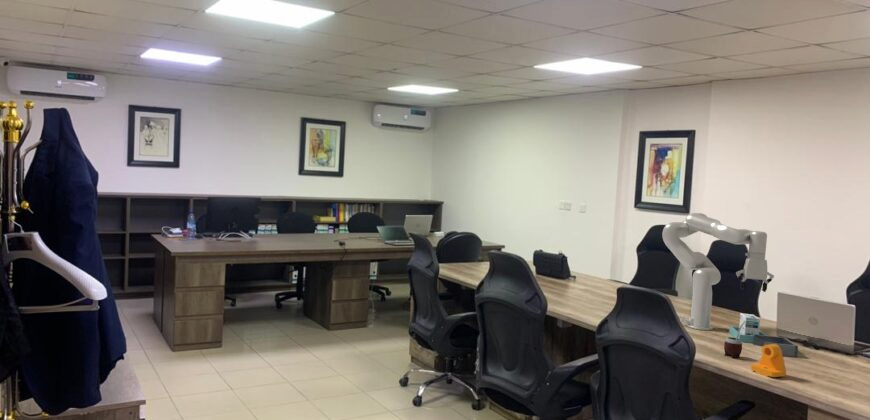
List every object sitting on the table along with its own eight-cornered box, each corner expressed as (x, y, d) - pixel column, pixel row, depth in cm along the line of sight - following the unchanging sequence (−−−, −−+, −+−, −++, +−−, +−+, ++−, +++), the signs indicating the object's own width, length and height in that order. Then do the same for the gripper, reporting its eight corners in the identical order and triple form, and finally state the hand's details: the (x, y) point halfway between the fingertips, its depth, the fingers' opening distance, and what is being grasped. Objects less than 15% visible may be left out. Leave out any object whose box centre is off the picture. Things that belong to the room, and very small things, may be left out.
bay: (764, 353, 284) (765, 342, 283) (752, 344, 300) (753, 334, 299) (797, 357, 281) (798, 346, 281) (783, 347, 297) (784, 337, 297)
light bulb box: (758, 340, 305) (760, 318, 305) (743, 338, 307) (745, 317, 306) (752, 335, 316) (754, 314, 315) (737, 333, 317) (739, 312, 316)
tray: (739, 341, 304) (739, 334, 303) (728, 332, 321) (729, 326, 321) (770, 344, 301) (770, 337, 301) (758, 336, 319) (758, 329, 318)
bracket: (749, 370, 255) (752, 341, 254) (761, 369, 258) (764, 340, 257) (773, 379, 245) (776, 349, 244) (785, 377, 248) (788, 348, 247)
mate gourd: (723, 357, 273) (726, 323, 272) (722, 352, 280) (725, 319, 279) (742, 360, 270) (746, 325, 269) (741, 355, 277) (744, 322, 277)
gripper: (740, 255, 307) (736, 290, 308) (778, 258, 303) (774, 293, 304) (735, 253, 314) (732, 287, 315) (772, 256, 311) (769, 290, 312)
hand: (753, 290), depth 310 cm, fingers open, 9 cm apart
